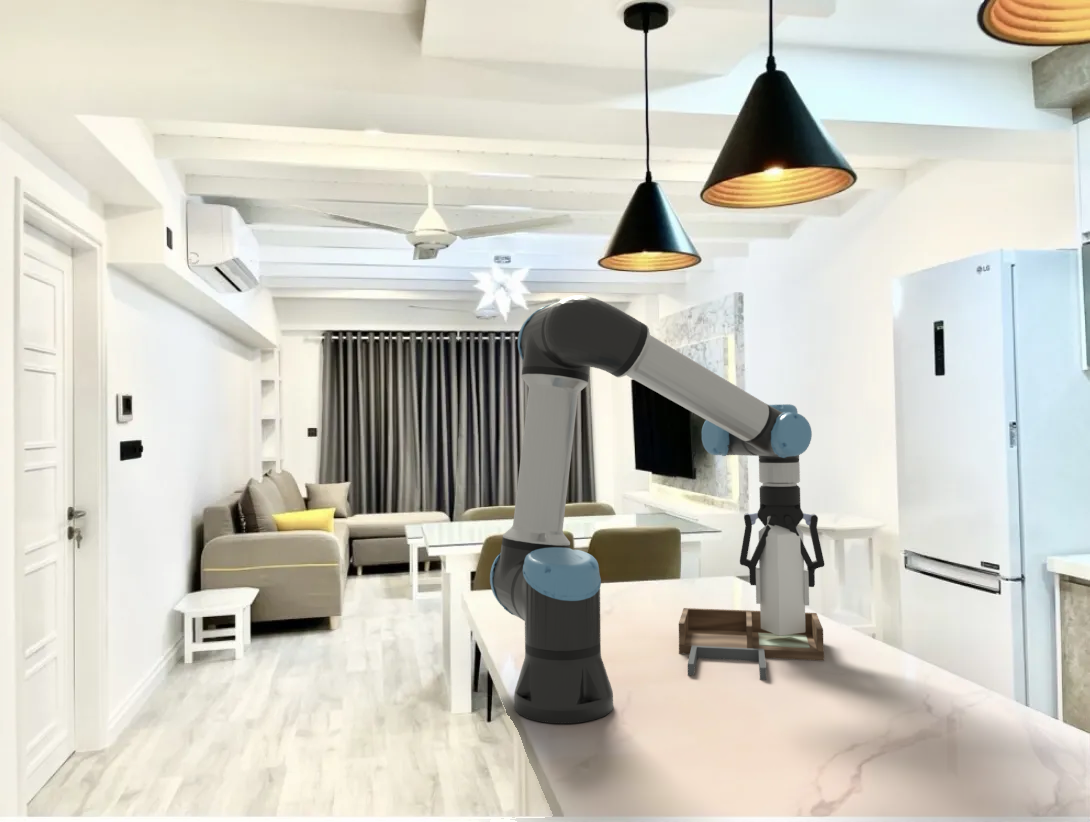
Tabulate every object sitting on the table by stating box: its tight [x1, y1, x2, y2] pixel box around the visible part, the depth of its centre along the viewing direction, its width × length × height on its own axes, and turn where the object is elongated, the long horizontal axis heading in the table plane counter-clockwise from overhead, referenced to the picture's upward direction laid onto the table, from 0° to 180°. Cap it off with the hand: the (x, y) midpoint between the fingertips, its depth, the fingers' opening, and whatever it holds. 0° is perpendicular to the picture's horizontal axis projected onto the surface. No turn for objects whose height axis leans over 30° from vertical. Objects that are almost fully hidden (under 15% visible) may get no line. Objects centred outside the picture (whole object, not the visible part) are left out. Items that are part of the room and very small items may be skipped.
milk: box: [758, 516, 806, 636], centre depth 154 cm, size 6×6×22 cm
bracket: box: [687, 645, 767, 681], centre depth 142 cm, size 12×13×2 cm
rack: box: [678, 607, 825, 662], centre depth 155 cm, size 14×26×6 cm, turn 76°
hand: (782, 603), depth 154 cm, fingers closed on milk, 8 cm apart
